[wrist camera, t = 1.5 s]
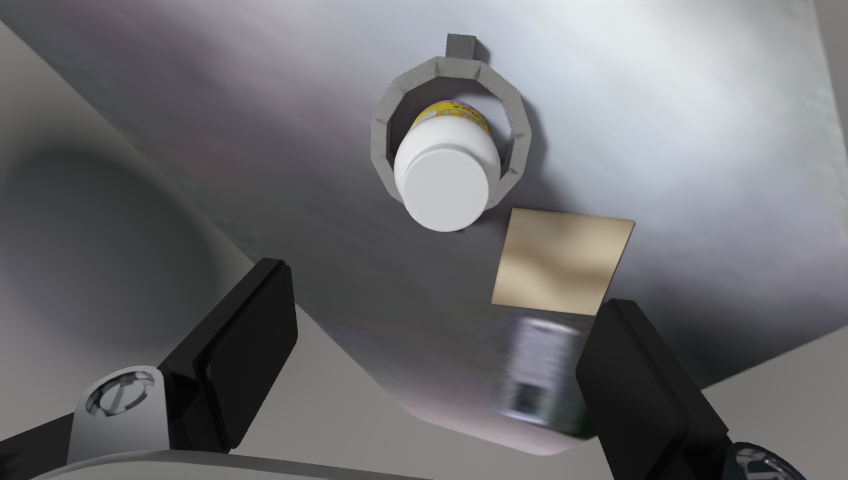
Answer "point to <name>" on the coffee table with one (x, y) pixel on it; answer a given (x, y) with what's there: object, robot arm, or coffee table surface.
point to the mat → (558, 260)
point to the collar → (457, 66)
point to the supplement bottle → (447, 166)
